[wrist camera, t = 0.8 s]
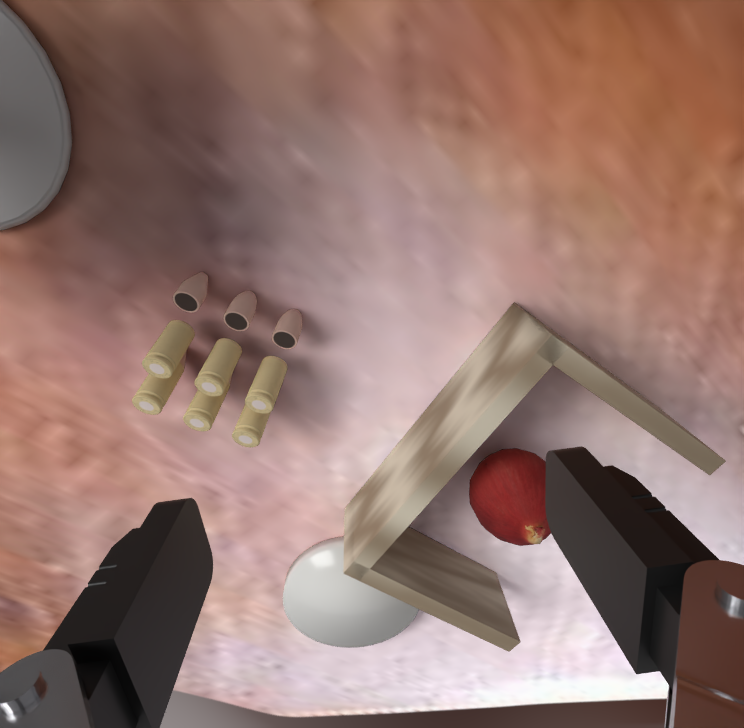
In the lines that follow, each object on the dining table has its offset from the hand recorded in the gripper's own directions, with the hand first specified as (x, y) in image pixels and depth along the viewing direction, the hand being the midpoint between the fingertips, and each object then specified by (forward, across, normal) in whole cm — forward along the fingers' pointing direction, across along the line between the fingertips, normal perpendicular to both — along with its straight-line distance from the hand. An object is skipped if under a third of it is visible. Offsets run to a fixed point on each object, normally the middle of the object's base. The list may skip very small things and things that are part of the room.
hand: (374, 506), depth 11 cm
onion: (+20, -9, +13) cm, 25 cm away
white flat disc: (+21, +3, +23) cm, 31 cm away
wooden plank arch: (+20, -9, +13) cm, 25 cm away
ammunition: (+20, +8, +1) cm, 22 cm away
